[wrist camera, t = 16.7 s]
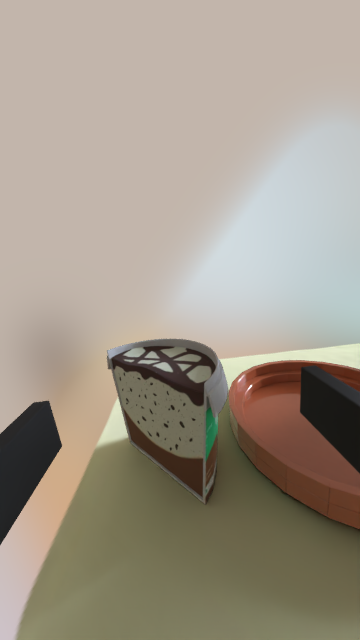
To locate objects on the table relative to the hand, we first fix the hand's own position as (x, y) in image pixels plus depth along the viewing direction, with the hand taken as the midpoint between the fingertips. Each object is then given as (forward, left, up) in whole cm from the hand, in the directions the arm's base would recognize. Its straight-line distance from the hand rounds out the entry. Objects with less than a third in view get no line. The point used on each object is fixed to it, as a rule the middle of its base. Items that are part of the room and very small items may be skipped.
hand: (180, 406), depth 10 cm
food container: (0, -7, -10) cm, 12 cm away
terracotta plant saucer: (-14, -7, -10) cm, 18 cm away
